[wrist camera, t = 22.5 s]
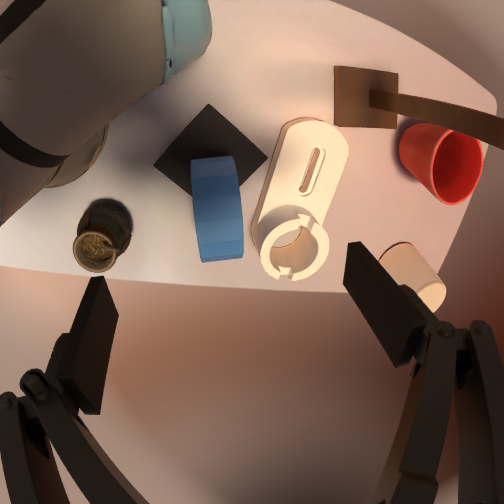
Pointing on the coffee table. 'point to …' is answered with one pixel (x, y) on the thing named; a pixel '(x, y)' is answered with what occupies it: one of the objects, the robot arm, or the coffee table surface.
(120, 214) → the mate gourd
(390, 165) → the coffee table surface
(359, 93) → the peg stand
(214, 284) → the coffee table surface
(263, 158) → the mat
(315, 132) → the bracket
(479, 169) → the flower pot
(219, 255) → the tape roll
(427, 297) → the beige cylinder
